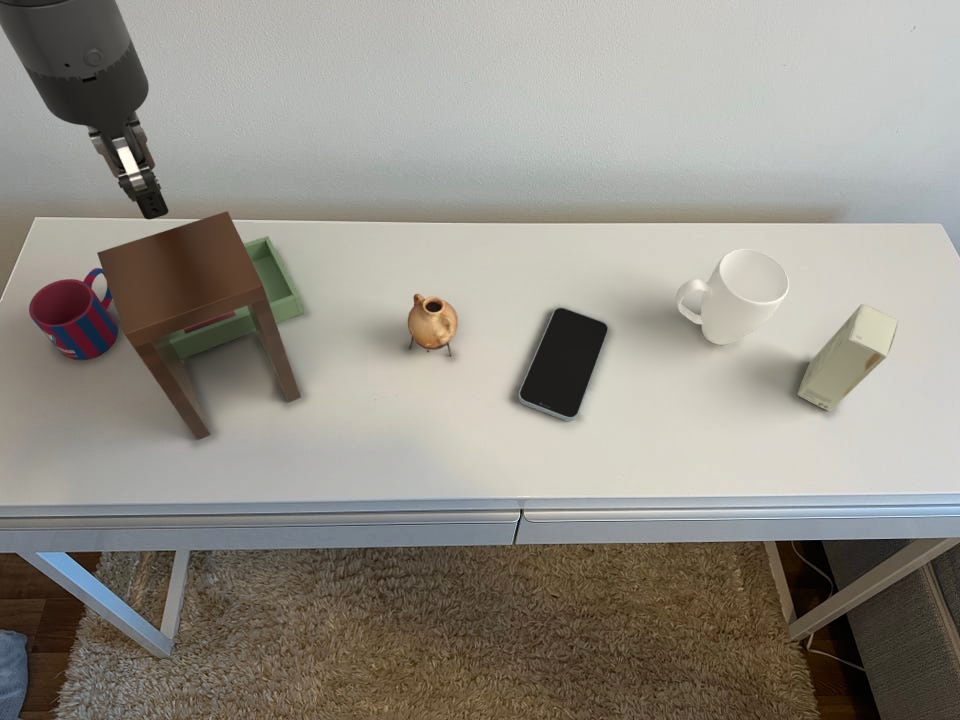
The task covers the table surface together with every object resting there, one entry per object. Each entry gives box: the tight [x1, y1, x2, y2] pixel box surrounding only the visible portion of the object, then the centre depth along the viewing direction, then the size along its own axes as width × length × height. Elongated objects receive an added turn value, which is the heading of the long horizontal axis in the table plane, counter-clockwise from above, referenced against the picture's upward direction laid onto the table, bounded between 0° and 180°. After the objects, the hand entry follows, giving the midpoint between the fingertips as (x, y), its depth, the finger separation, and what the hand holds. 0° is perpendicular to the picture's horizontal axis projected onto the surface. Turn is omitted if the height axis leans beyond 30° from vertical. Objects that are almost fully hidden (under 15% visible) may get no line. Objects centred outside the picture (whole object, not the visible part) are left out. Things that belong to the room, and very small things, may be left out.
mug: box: [674, 248, 790, 346], centre depth 82 cm, size 12×8×11 cm
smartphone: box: [517, 306, 610, 422], centre depth 82 cm, size 7×1×15 cm
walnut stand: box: [96, 210, 302, 441], centre depth 69 cm, size 12×10×21 cm
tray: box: [166, 235, 304, 360], centre depth 83 cm, size 16×11×4 cm
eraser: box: [183, 311, 236, 334], centre depth 80 cm, size 6×3×2 cm
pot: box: [407, 293, 459, 358], centre depth 80 cm, size 6×8×6 cm
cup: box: [28, 267, 118, 361], centre depth 78 cm, size 7×10×7 cm
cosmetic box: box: [797, 302, 900, 412], centre depth 78 cm, size 6×4×12 cm
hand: (156, 212), depth 63 cm, fingers closed
